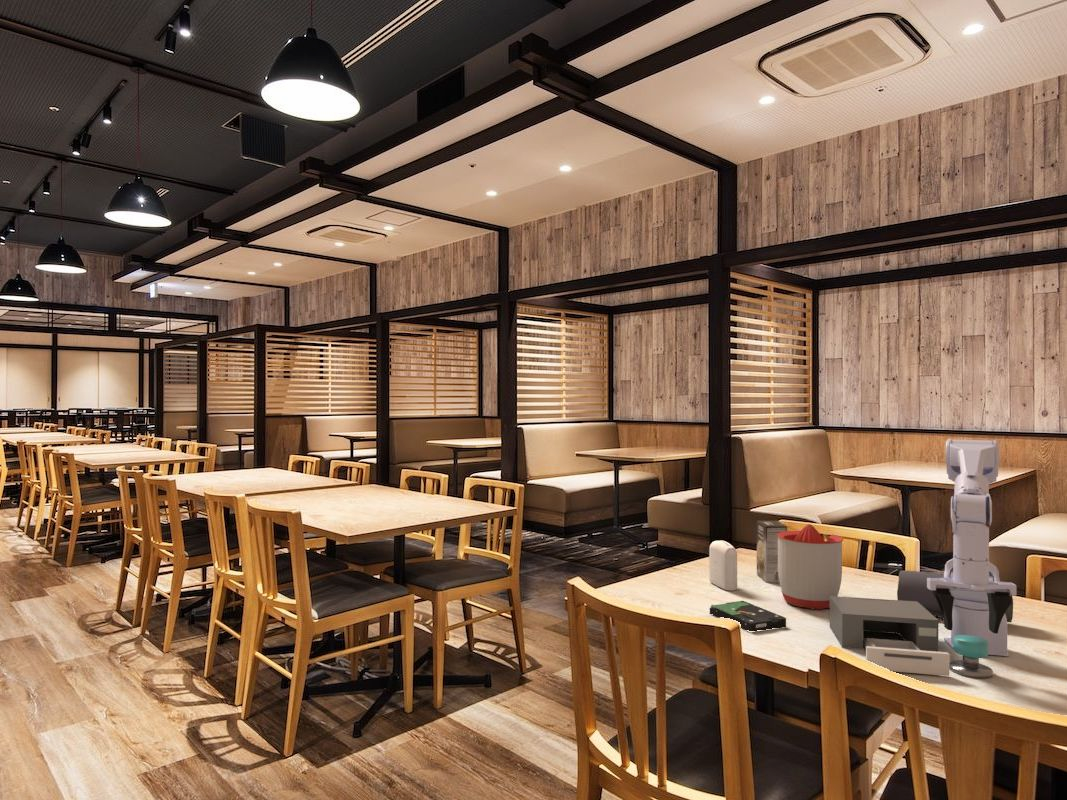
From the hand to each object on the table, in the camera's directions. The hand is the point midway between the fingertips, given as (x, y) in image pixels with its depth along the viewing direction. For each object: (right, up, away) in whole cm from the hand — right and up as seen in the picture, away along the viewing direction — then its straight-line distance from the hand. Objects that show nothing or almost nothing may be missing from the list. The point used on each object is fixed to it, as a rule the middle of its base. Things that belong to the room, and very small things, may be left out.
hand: (970, 630), depth 131 cm
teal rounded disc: (0, -4, 0) cm, 4 cm away
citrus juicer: (-12, -8, +45) cm, 47 cm away
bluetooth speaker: (+17, -8, +33) cm, 38 cm away
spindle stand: (0, -8, 0) cm, 8 cm away
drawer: (-11, -8, +7) cm, 15 cm away
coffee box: (-14, -8, +69) cm, 71 cm away
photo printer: (-30, -8, +60) cm, 68 cm away
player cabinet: (-8, -8, +17) cm, 21 cm away
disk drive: (-33, -9, +30) cm, 46 cm away
